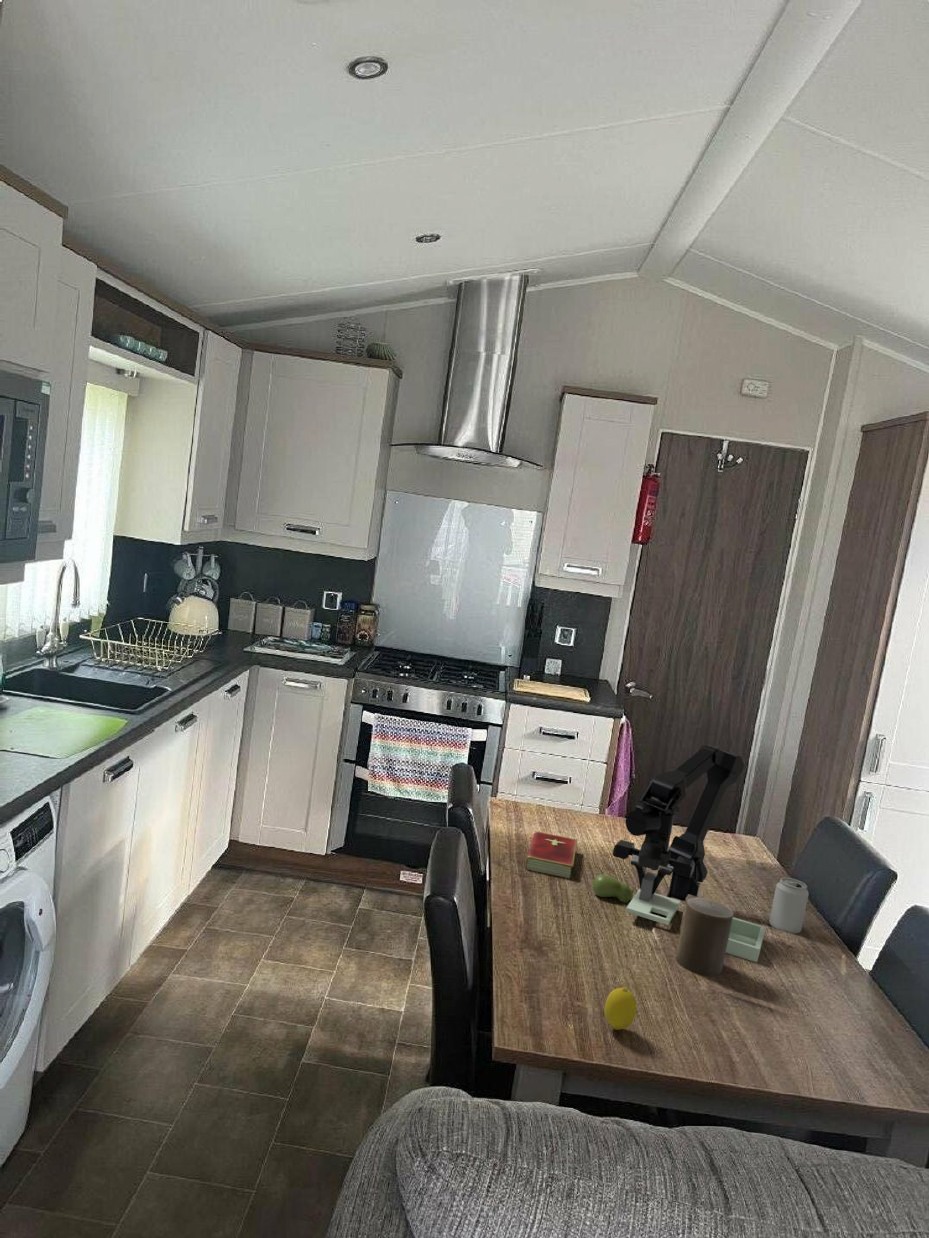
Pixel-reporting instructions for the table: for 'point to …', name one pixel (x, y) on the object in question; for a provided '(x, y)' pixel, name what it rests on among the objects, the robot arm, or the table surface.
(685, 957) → the pillar candle
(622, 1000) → the lemon
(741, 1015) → the table surface
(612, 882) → the pear
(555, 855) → the hardcover book
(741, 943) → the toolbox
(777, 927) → the can
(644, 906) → the green slotted base
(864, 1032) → the table surface
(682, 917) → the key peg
